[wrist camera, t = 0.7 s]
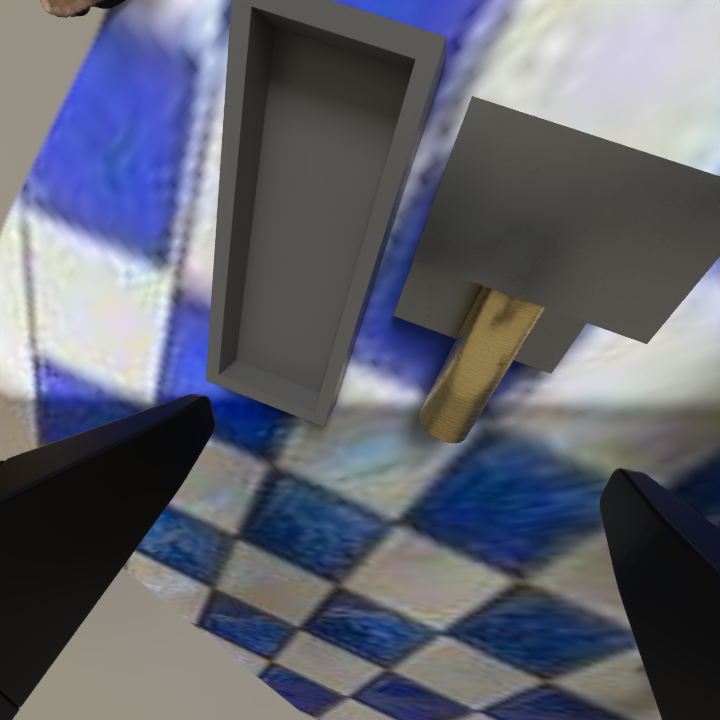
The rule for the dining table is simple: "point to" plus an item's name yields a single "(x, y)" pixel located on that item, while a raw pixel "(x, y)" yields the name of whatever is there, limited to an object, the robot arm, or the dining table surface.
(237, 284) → the tray
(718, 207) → the grey block
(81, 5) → the shell
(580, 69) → the dining table surface
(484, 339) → the pin
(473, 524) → the dining table surface
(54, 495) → the robot arm
